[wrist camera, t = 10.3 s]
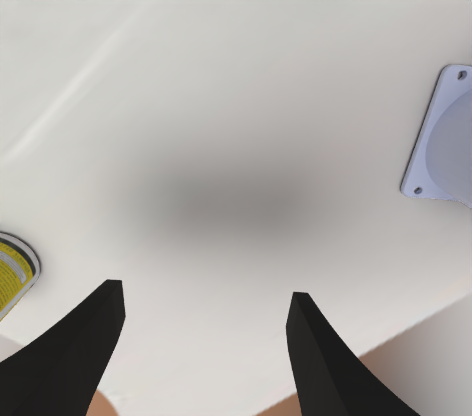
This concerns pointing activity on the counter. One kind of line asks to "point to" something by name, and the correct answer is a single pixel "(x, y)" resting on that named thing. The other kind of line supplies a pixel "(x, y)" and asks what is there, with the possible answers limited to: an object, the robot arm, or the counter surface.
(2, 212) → the counter surface
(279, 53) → the counter surface
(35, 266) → the supplement bottle
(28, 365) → the robot arm
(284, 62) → the counter surface
